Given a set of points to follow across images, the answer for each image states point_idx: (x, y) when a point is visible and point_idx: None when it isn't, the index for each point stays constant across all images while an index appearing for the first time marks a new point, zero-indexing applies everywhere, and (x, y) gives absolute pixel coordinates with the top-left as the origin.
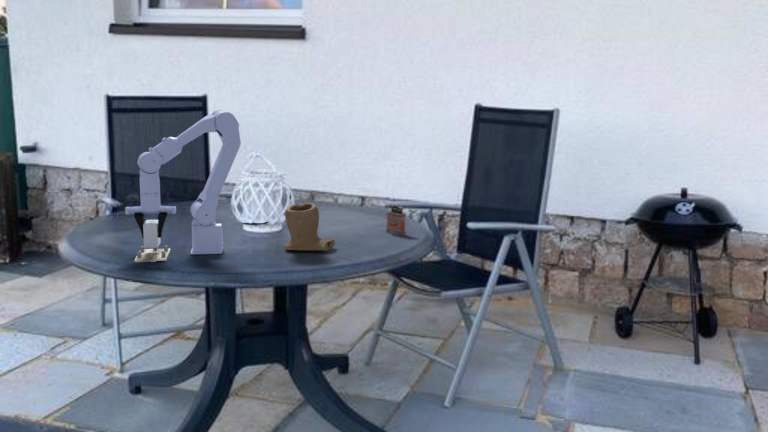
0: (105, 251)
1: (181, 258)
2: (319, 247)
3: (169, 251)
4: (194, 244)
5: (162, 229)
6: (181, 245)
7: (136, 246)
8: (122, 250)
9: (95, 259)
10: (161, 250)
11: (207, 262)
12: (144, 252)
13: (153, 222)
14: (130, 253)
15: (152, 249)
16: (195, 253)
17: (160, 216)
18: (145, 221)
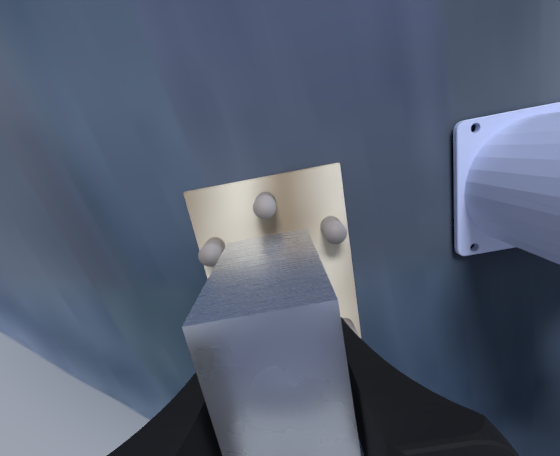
0: (11, 211)
1: (418, 309)
2: None
3: (346, 221)
4: (509, 240)
5: (362, 343)
6: (374, 26)
7: (113, 78)
8: (85, 183)
9: (58, 350)
10: (303, 214)
11: (531, 359)
12: None
13: (309, 446)
14: (156, 241)
15: (249, 196)
16: (481, 252)
17: None
18: (208, 410)
